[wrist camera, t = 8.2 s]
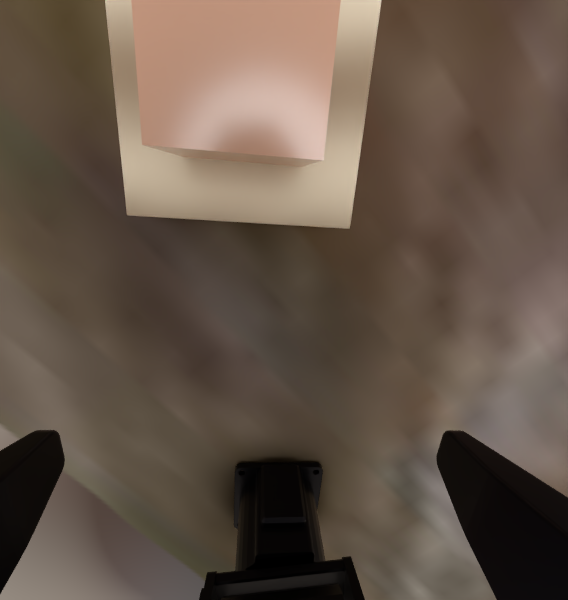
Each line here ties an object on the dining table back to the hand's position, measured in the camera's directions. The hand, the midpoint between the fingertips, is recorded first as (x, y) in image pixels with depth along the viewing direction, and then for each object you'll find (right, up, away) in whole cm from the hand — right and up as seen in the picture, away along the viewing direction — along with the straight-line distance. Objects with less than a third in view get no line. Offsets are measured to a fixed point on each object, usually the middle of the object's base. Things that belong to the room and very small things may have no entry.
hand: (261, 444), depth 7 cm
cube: (-1, +12, +5) cm, 13 cm away
